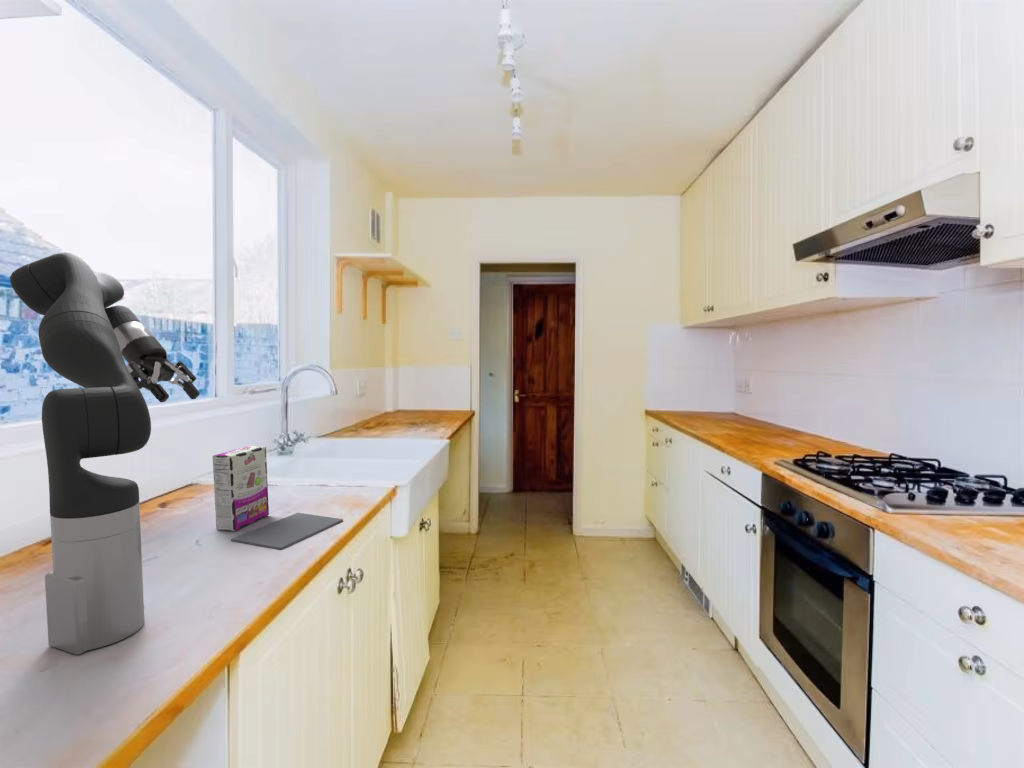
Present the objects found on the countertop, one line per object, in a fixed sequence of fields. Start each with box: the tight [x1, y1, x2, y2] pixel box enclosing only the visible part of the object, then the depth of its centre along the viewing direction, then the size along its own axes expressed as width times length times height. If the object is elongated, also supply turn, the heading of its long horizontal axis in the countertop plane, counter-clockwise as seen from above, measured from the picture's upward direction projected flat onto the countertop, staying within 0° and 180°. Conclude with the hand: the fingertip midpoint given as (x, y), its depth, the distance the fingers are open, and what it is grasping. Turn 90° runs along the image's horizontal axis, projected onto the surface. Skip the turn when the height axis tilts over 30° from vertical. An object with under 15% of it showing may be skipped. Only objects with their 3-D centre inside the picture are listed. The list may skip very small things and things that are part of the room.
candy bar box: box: [212, 445, 270, 532], centre depth 112 cm, size 11×5×16 cm, turn 168°
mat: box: [230, 512, 344, 551], centre depth 108 cm, size 18×13×1 cm
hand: (181, 398), depth 115 cm, fingers open, 8 cm apart
